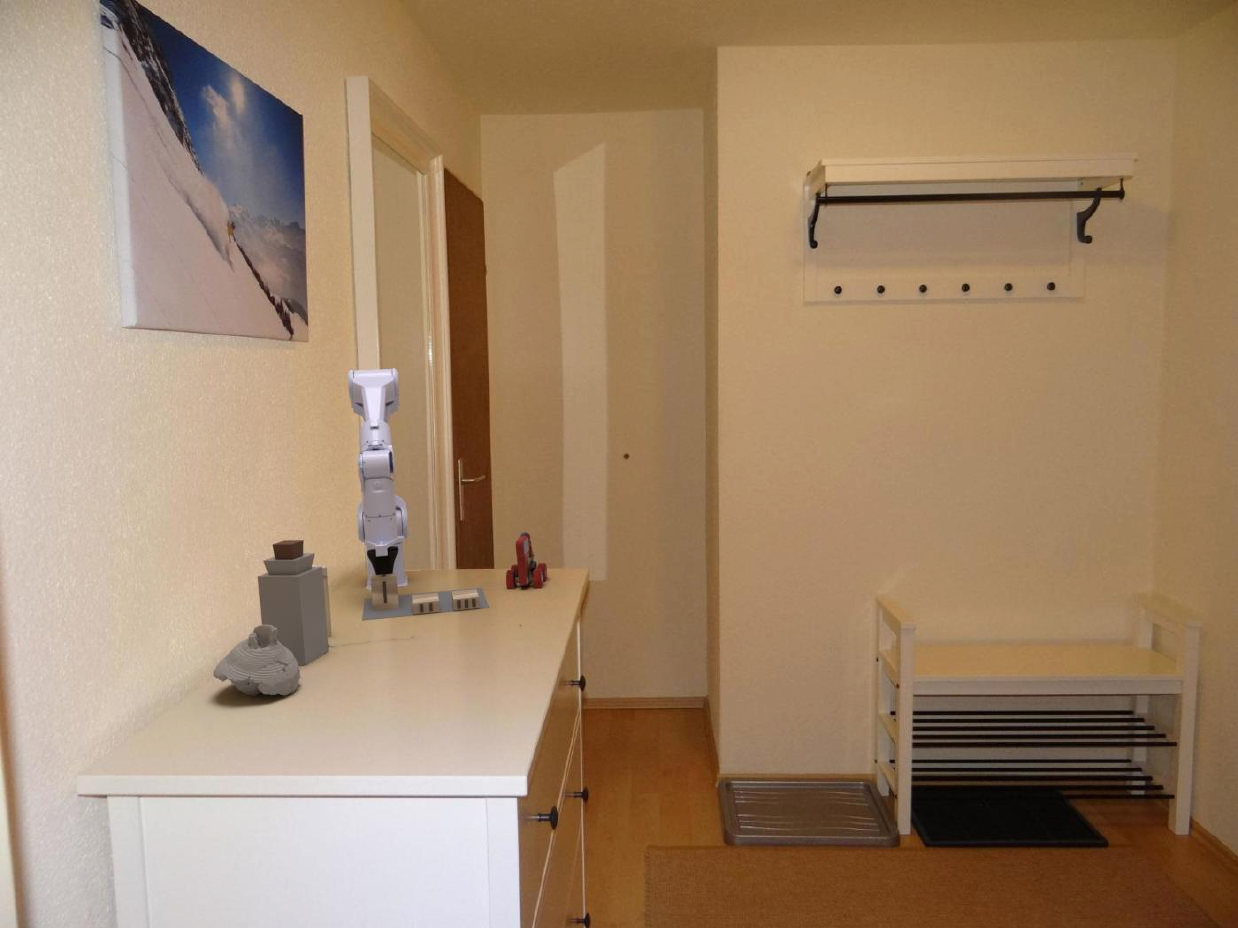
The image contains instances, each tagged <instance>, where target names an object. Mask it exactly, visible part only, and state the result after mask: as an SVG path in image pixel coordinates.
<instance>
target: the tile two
mask: <svg viewBox="0 0 1238 928" xmlns="http://www.w3.org/2000/svg"><path fill="white" fill-rule="evenodd" d="M412 600H413V614H423V613H433V612H440V610H439V599H438V593H431V594H421V595H412Z"/></svg>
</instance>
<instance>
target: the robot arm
mask: <svg viewBox="0 0 1238 928" xmlns="http://www.w3.org/2000/svg"><path fill="white" fill-rule="evenodd" d="M347 381H348V382H347V386H348V394H349V395H348V397H349V400H350V405H351V408H352V410H353V413H354V414H356V415H357V416H360V417H362V419H363V422H364V423H363V424H361V426H360V428H359V452H360V453H359V454H357V472H358V474H357V475H358V478H359V484H360V488H361V489H360V490H361V492H362V500H361V501H360V502H359V504H358V506H357V515H356V517H357V518H356V519H357V534H358V540H359V541H361V543H364V544H365V546H366V547H365V548H366V562H367V572H368V573H367V574H368V575H367V577H368V578H367V581H366V590H372V589H371V576H373V575H382V574H395V573H397V587H405V586H408V585H409V584H408V575H406V571H405V570H406V569H405V557H404V556H405V555H404V541H405V540H406V539H407V538H408V537H409V535H410V534H409V522H408V521H409V520H408V510H407V503H406V502H405V500H404V499H403V498H401V497H400V496H398V495H397V494H396V493H395V492H396V491H395V480H396V473H397V472H396V459H395V452H394V449H393V445H392V431H391V427H390V425H389V422H390V418H391V415H392V414H394V413H396V412H398V411H399V406H400V390H399V389H400V388H399V372H398V370H397V369H396V367H393V368H389V369H388V368H385V369H384V368H383V369H380V368H379V369H361V370H359V369H357V370H353V369H350V370H349V372H348V373H347ZM391 474H392V475H393V478H391V477H392V476H391Z"/></svg>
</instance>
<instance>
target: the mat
mask: <svg viewBox="0 0 1238 928" xmlns="http://www.w3.org/2000/svg"><path fill="white" fill-rule="evenodd" d="M473 589H476V590H477V593H478V596H479V606H480V608H473V609H463V610H454V608H453V604H452V594H451V592H452V591H462V590H473ZM431 593H438V599H439V610H440V612H433V613H423V614H413V600H412V595H421V594H431ZM398 601H399V608H396V609H386V610H376V611H373V602H372V597H369V598H368V597H367V598H364V602H363V608H362V610H363V611H362V617H361V621H373V620H383V619H392V618H394V619H395V618H402V617H411V616H422V615H432V614H443V613H451V612H452V613H453V612H454V613H455V612H462V611H470V610H471V611H472V610H473V611H474V610H482V609H490V606H489V603H488V601H487V597H486V595H485V593H484V590H483V588H482V587H481V586H480V587H472V588H462V589H452V590H451V589H450V590H442V591H441V590H440V591H432V592H430V591H429V592H419V593H410V594H409V593H408V594H398Z"/></svg>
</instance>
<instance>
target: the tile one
mask: <svg viewBox="0 0 1238 928" xmlns="http://www.w3.org/2000/svg"><path fill="white" fill-rule="evenodd" d="M398 588H399V586H397V573H395V574H382V575H373V576H371V589H370V590H371V598H372V602H373V611H376V610H386V609H396V608H399V601H398V595H399V589H398Z"/></svg>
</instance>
